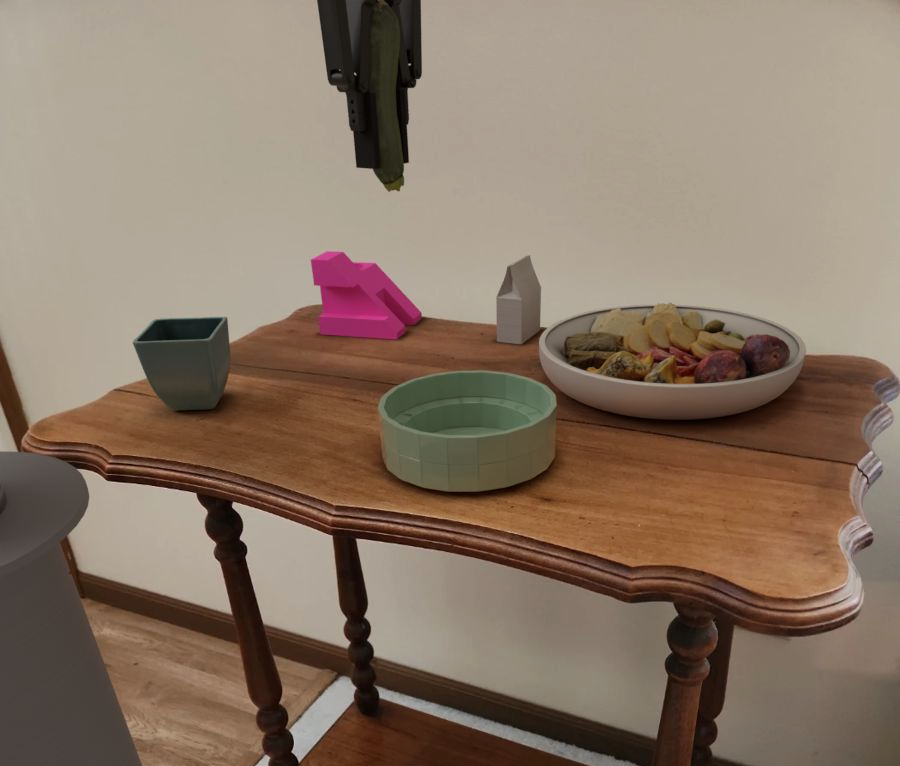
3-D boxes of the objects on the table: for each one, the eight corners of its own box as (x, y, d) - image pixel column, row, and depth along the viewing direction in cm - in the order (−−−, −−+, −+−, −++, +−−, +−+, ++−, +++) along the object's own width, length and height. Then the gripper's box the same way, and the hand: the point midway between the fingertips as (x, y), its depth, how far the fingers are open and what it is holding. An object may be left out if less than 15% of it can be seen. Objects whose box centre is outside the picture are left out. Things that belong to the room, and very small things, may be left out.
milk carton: (540, 330, 115) (541, 255, 110) (521, 344, 110) (522, 267, 105) (516, 327, 117) (516, 254, 111) (496, 341, 112) (496, 265, 106)
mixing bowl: (348, 466, 81) (341, 409, 78) (456, 412, 92) (455, 359, 88) (483, 515, 72) (482, 453, 68) (587, 448, 82) (590, 392, 79)
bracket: (320, 334, 118) (310, 259, 112) (349, 314, 126) (341, 243, 120) (396, 339, 114) (391, 262, 108) (421, 318, 122) (417, 245, 116)
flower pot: (226, 416, 93) (210, 338, 88) (151, 419, 93) (130, 341, 88) (242, 389, 101) (228, 315, 95) (172, 391, 101) (154, 318, 96)
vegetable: (378, 195, 83) (365, -55, 72) (355, 191, 85) (340, -50, 74) (413, 192, 85) (406, -52, 74) (390, 188, 88) (380, -47, 77)
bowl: (487, 388, 97) (486, 322, 93) (630, 328, 114) (635, 270, 110) (710, 457, 80) (723, 379, 75) (841, 374, 97) (858, 306, 92)
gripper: (321, -158, 63) (352, 178, 76) (454, -135, 73) (461, 157, 87) (258, -143, 67) (298, 173, 80) (393, -124, 77) (408, 153, 91)
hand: (382, 164), depth 84 cm, fingers closed on vegetable, 4 cm apart
